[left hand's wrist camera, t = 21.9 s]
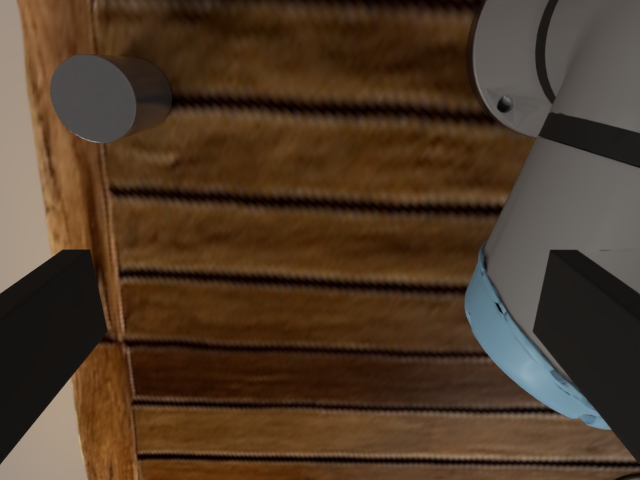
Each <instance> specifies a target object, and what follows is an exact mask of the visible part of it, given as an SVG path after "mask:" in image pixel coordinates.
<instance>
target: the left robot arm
mask: <svg viewBox="0 0 640 480" xmlns="http://www.w3.org/2000/svg"><path fill="white" fill-rule="evenodd" d="M467 67H468V74H469V79H470V83H471V86H472V89H473V91H474V93H475V96H476V98H477V99H478V101H479V103H480V105H481V106H482V107H483V109H484V110H485V111H486V112H487V113H488V115H489V116H490V117H491V118H493V119H494V120H495V121H496V122H497V123H499V124H500V125H502V126H503V127H505V128H507V129H509V130H511V131H514V132H517V133H520V134H523V135H526V136H529V137H533V138H536V140H535V142H534V144H533V146H532V148H531V150H530V152H529V154H528V156H527V159H526V161H525V163H524V165H523V167H522V169H521V171H520V173H519V176H518V178H517V180H516V182H515V184H514V186H513V188H512V190H511V192H510V195H509V197H508V199H507V201H506V203H505V205H504V207H503V209H502V212H501V214H500V216H499V218H498V220H497V222H496V224H495V226H494V228H493V231H492V233H491V235H490V237H489V239H488V241H485V242H484V243H483V245H482V246H481V249H480V251H479V256H478V263H477V265H476V268H475V271H474V273H473V276H472V278H471V281H470V283H469V286H468V288H467V291H466V294H465V312H466V315H467V318H468V321H469V323H470V324H471V328H472V332H473V333H474V335H475V337H476V339H477V340H478V342H479V343H480V345H481V346H482V348H483V349H484V350H485V352H486V353H487V354H488V355H489V356H490V358H491V359H492V360H493V361H494V362H495V363H496V364H497V365H498V366H499V367H500V368H501V369H502V370H503V371H504V372H505V373H506V374H507V375H508V376H509V377H510V378H511V379H512V380H513V381H515V382H516V383H517V384H518V385H519V386H520V387H522V388H523V389H524V390H525V391H527V392H528V393H529V394H531V395H532V396H534V397H535V398H536V399H538V400H539V401H541V402H542V403H544V404H545V405H547V406H548V407H550V408H552V409H553V410H555V411H557V412H559V413H561V414H563V415H565V416H567V417H569V418H571V419H576V418H580V419H582V420H583V421H584V422H585V423H586V424H587V425H588V426H592V427H595V428H600V429H605V430H612V431H613V432H614V433H615V434H616V436H617V437H618V438H619V439H620V441H621V442H622V443H623V444H624V446H625V447H626V448H627V449H628V451H629V452H630V453H631V454H632V455H633V457H634V458H635V459H636V460H637V462H638V463H639V464H640V0H481V2H480V4H479V6H478V9H477V11H476V13H475V16H474V19H473V22H472V25H471V29H470V33H469V38H468V45H467ZM548 139H549V140H548ZM552 140H553V141H552ZM555 141H556V142H555ZM558 142H559V143H558ZM561 143H562V144H561ZM568 145H569V146H568ZM571 146H572V147H571ZM574 147H575V148H574ZM606 157H607V158H606ZM609 158H610V159H609ZM106 333H107V327H106V322H105V318H104V313H103V308H102V304H101V299H100V294H99V290H98V285H97V280H96V276H95V271H94V266H93V262H92V257H91V253H90V250H62V251H60V252H59V253H57V254H56V255H55V256H53V257H52V258H50V259H49V260H48V261H46V262H45V263H43V264H42V265H41V266H39V267H38V268H36V269H35V270H33V271H32V272H30V273H29V274H28V275H26V276H25V277H23V278H22V279H20V280H19V281H18V282H16V283H15V284H13V285H12V286H11V287H9V288H8V289H6V290H5V291H3V292H2V293H1V294H0V464H1V463H2V462H3V460H4V459H5V458H6V457H7V455H8V454H9V453H10V452H11V450H12V449H13V448H14V447H15V446H16V444H17V443H18V442H19V441H20V439H21V438H22V437H23V436H24V434H25V433H26V432H27V431H28V430H29V428H30V427H31V426H32V425H33V423H34V422H35V421H36V420H37V418H38V417H39V416H40V415H41V413H42V412H43V411H44V410H45V408H46V407H47V406H48V405H49V404H50V402H51V401H52V400H53V399H54V397H55V396H56V395H57V394H58V392H59V391H60V390H61V389H62V387H63V386H64V385H65V384H66V382H67V381H68V380H69V379H70V378H71V376H72V375H73V374H74V373H75V371H76V370H77V369H78V368H79V366H80V365H81V364H82V363H83V362H84V360H85V359H86V358H87V357H88V355H89V354H90V353H91V352H92V350H93V349H94V348H95V347H96V345H97V344H98V343H99V342H100V341H101V339H102V338H103V337H104V336H105V334H106Z"/></svg>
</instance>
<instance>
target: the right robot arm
mask: <svg viewBox="0 0 640 480" xmlns="http://www.w3.org/2000/svg"><path fill="white" fill-rule="evenodd" d="M620 480H640V475H634V476H629V477H625V478H622V479H620Z"/></svg>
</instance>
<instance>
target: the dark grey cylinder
mask: <svg viewBox="0 0 640 480" xmlns="http://www.w3.org/2000/svg"><path fill="white" fill-rule="evenodd" d="M50 95H51V101H52V105H53V107H54V110H55V112H56V114H57V116H58V117H59V119H60V120H61V122H62V123H63V124H64V125H65V126H66V127H67V128H68V129H69V130H70V131H71V132H72V133H74V134H75V135H77V136H78V137H80V138H82V139H85V140H87V141H90V142H95V143H108V142H113V141H115V140H118V139H121V138H124V137H127V136H130V135H133V134H136V133H138V132H141V131H144V130H147V129H150V128H153V127H155V126H157V125H159V124H160V123H162V122H163V121H164V120H165V118H166V117H167V116H168V114H169V112H170V109H171V105H172V93H171V88H170V85H169V83H168V80H167V79H166V77H165V75H164V74H163V73H162V71H161V70H160V69H159V68H158V67H156V66H155V65H154V64H152V63H151V62H149V61H147V60H145V59H142V58H138V57H124V56H109V55H94V54H79V55H74V56H72V57H69V58H68V59H66V60H64V61H63V62H62V63H61V64H60V65H59V66H58V67H57V69H56V70H55V72H54V74H53V77H52V80H51V85H50Z"/></svg>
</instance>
